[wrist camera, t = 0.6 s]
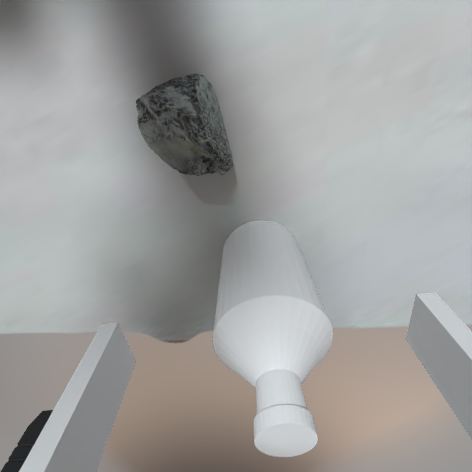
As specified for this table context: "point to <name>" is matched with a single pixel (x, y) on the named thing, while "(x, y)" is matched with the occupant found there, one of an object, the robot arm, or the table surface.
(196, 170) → the stone
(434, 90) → the table surface
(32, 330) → the table surface
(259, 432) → the bottle
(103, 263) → the table surface
